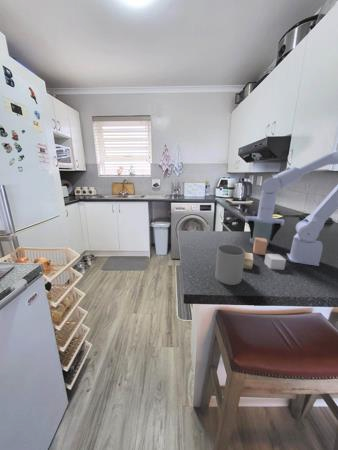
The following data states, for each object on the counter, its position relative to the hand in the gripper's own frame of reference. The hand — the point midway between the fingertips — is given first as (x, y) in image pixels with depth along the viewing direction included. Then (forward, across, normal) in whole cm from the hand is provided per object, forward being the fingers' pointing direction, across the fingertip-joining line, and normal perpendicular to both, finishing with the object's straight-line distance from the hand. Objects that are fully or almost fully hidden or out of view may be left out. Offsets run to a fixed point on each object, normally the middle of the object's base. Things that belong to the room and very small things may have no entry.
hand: (260, 238), depth 82 cm
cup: (+6, +12, +27) cm, 30 cm away
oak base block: (+6, +7, +15) cm, 18 cm away
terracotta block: (+6, 0, 0) cm, 6 cm away
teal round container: (+6, -1, -13) cm, 15 cm away
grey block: (+6, -4, +12) cm, 14 cm away
